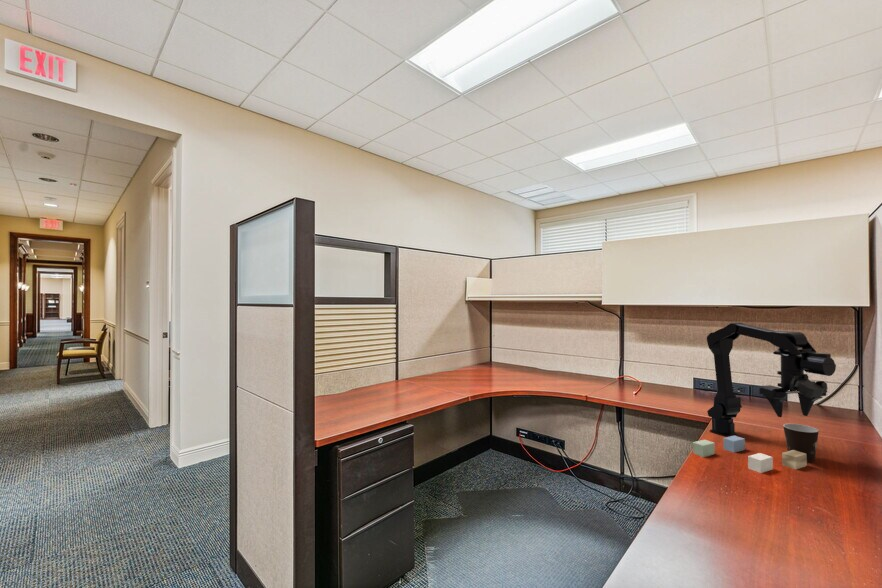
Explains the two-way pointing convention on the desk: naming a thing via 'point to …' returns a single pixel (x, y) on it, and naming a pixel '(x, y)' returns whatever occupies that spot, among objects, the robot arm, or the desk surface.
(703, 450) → the sage block
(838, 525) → the desk surface
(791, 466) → the maple block
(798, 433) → the coffee mug
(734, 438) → the blue block
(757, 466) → the cream block
